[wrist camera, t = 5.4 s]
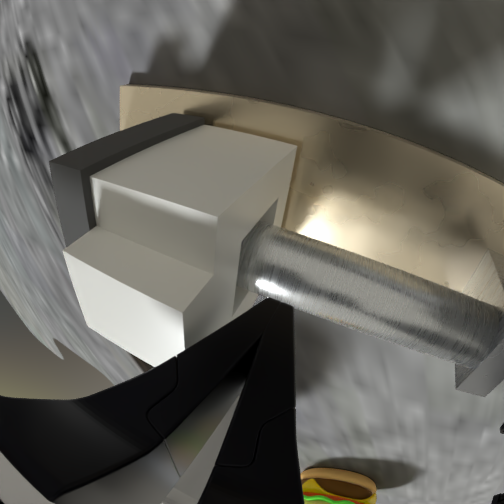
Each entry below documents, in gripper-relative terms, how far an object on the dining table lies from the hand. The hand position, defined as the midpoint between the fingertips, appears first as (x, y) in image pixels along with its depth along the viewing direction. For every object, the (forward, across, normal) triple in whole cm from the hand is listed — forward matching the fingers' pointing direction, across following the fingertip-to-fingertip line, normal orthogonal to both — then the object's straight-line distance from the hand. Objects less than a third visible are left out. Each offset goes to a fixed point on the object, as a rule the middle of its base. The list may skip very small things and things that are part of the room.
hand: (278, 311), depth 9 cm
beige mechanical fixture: (+6, +1, 0) cm, 6 cm away
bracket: (+5, +4, 0) cm, 6 cm away
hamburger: (+6, -13, +32) cm, 35 cm away
